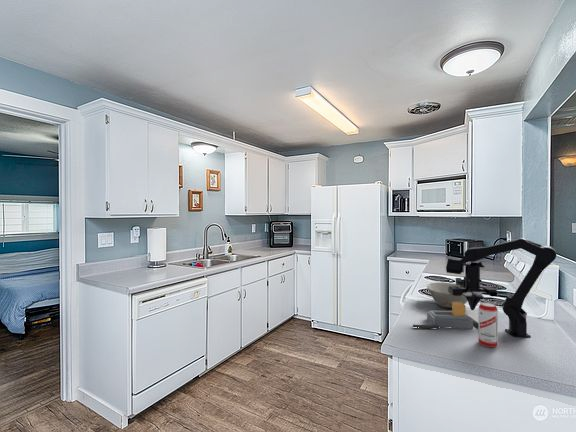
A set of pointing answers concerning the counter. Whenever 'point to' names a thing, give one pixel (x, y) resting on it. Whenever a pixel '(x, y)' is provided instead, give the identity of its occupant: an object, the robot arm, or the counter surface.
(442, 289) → the ceramic bowl
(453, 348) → the counter surface
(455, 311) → the knob
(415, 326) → the cord
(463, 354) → the counter surface
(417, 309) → the counter surface
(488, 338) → the beer can
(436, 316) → the power strip
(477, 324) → the cord
